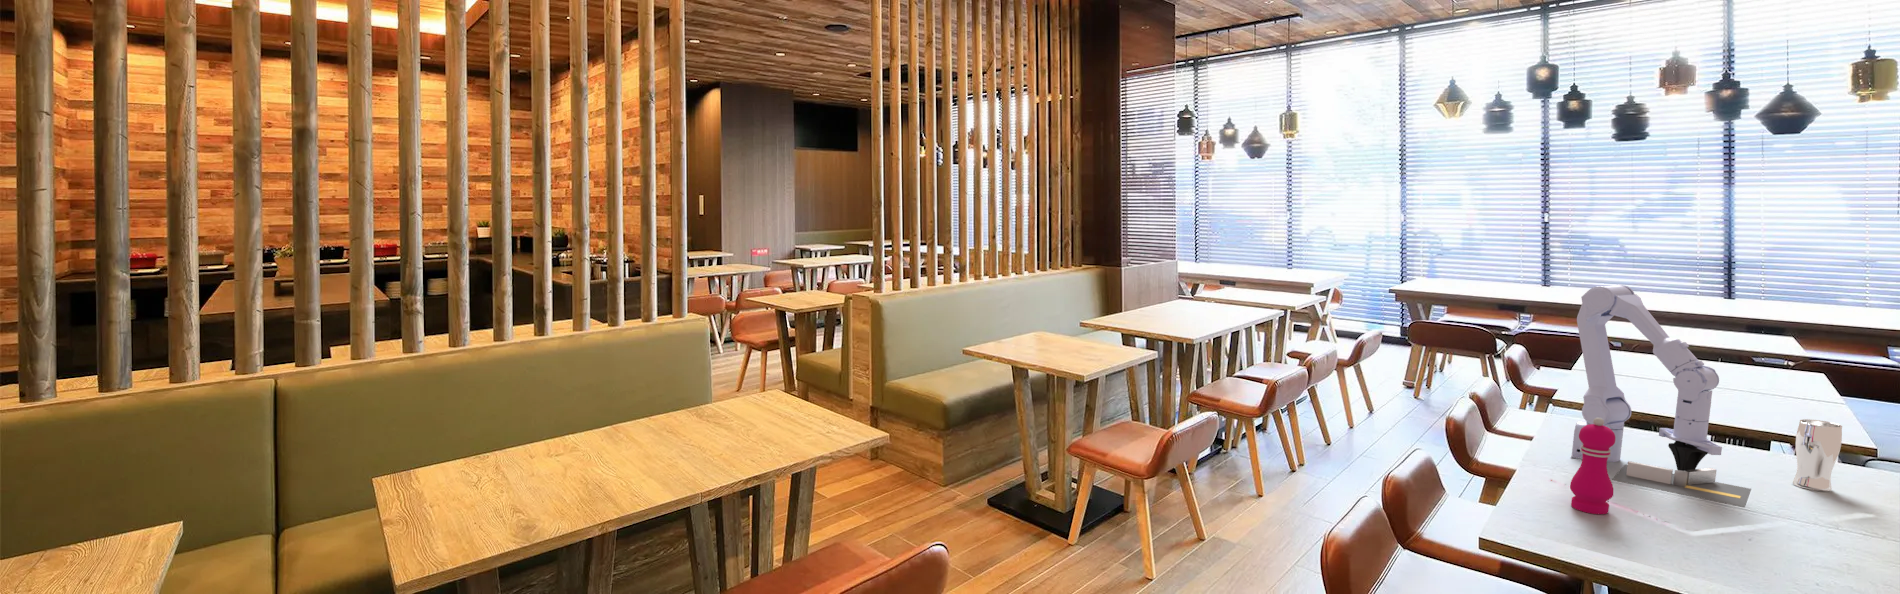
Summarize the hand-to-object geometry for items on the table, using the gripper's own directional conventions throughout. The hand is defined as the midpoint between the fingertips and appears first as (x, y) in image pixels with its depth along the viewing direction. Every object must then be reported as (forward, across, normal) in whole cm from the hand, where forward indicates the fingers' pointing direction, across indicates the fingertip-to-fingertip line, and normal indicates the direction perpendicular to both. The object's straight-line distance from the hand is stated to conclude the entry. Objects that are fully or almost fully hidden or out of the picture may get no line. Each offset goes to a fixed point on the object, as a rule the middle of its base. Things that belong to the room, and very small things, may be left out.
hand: (1685, 475), depth 186 cm
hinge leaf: (+1, +3, +1) cm, 3 cm away
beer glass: (+2, +2, +26) cm, 27 cm away
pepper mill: (+2, +18, -34) cm, 38 cm away
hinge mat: (+2, +4, -4) cm, 6 cm away
